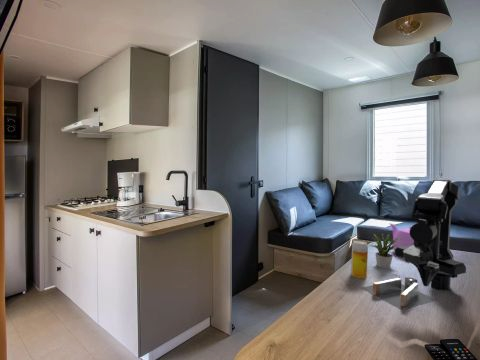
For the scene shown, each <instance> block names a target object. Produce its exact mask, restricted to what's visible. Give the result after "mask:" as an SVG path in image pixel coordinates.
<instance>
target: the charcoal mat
mask: <svg viewBox="0 0 480 360" xmlns="http://www.w3.org/2000/svg"><path fill="white" fill-rule="evenodd" d="M404 288H405V284H402V283H401V290H397V291H392V292H388V293H384V294H380V295H376V296H375V295H373V284H371V285H368V286H363V287H360V289H361V290H363V291H365V292H367V293H369V294H371V295H373V296H374V297H377V298H378V299H380V300H382V301H384V302H385V303H388V304H389V305H391V306H393V307H396V308H397V309H399V310H401V311H404V310H406V309H411V308H413V307H417V306H421V305H422V306H423V305H425V304H429V303H432V302H437V301H438V299H436V298H434V297H431V296H430V295H428V294H426V293H422V292H420V291H419V290H418V294H417V295H416V297H415V298H414V299H413V300H412V301H411V302H410V303H409V304H408V305H407V306H406V307H405V308H404V307H401V306H400V302H401V294H402V293H403V292H404V291H405V289H404Z"/></svg>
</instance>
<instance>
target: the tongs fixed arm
mask: <svg viewBox="0 0 480 360" xmlns="http://www.w3.org/2000/svg"><path fill="white" fill-rule="evenodd" d="M402 281H403V280H402V278H400V277H397V278H396V277H395V278H390V279H386V280H382V281H381V280H380V281H376V282H373V283H372V285H373V296H374V295H375V296H374V297H376V295H380V294H384V293H388V292H392V291H397V290H401V284H402Z"/></svg>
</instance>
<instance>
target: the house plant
mask: <svg viewBox="0 0 480 360" xmlns="http://www.w3.org/2000/svg"><path fill="white" fill-rule="evenodd" d="M389 233H390V232H389ZM389 233H388V234H387V236H386V237H385V236H384V234H383V232H382V233H381V234H382V240H381V238H379V237H378V235H376V234H374V233H373V236H374V237H372V239H373V240H374V242H375V243H376V244H377V245H376V244H375V245H374V244H372V245H370V246H368V248H370V247H373V248H376V249H377V252H376V253H375V261H376V262H375V263H376V266H378V267H379V268H383V269H389V268H391V264H392V261H393V255H392V254H390V253H392V252H394V250H395V249H393V248H394V246H397V245H394V246H392V244H394V242H396V241H397V239H400V238H397V239H395V240H393V239H392V240H391V241H389V240H390V234H389ZM401 241H402V240H401ZM396 244H397V243H396ZM392 250H393V251H392ZM390 251H392V252H390ZM389 252H390V253H389Z"/></svg>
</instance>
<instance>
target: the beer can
mask: <svg viewBox="0 0 480 360" xmlns="http://www.w3.org/2000/svg"><path fill="white" fill-rule="evenodd" d="M351 244H352V245H351V262H350V263H351V265H350V267H351V268H350V275H351V276H352V277H355V278H358V279H366V278H367V277H368V274H367V273H368V254H369V253H368V252H369V251H368V250H369V246H368V243H367V242H366V241H362V240H353V241H352V243H351Z"/></svg>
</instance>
